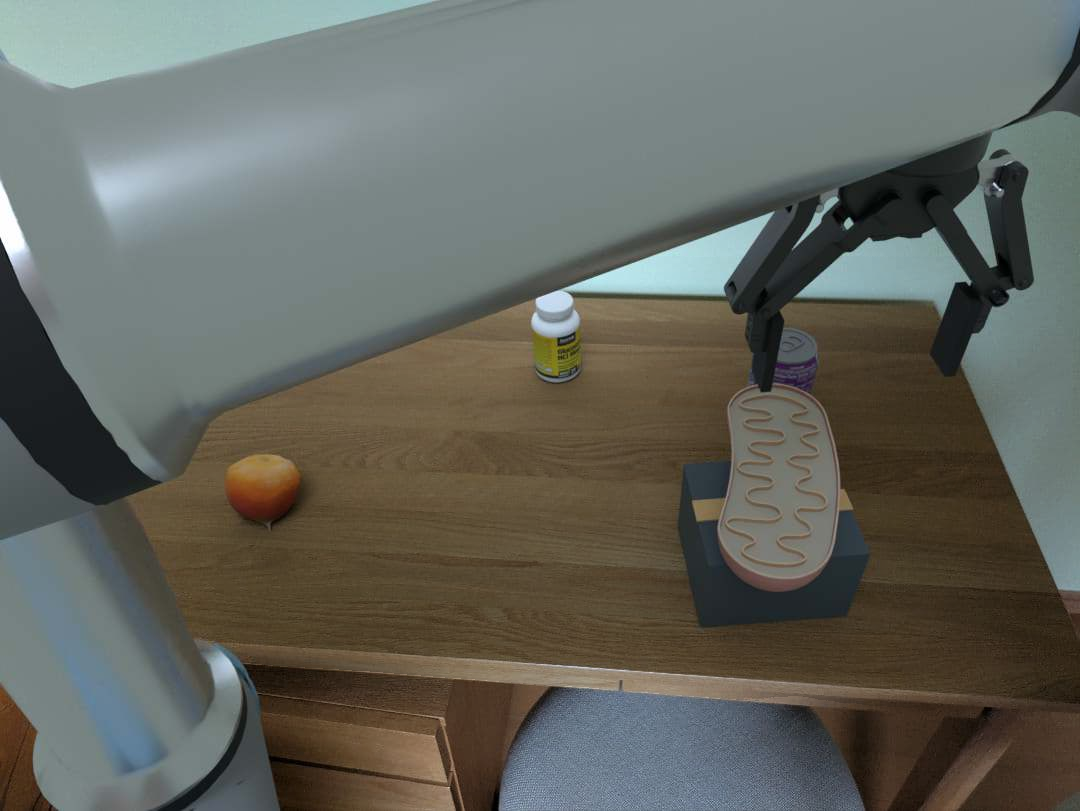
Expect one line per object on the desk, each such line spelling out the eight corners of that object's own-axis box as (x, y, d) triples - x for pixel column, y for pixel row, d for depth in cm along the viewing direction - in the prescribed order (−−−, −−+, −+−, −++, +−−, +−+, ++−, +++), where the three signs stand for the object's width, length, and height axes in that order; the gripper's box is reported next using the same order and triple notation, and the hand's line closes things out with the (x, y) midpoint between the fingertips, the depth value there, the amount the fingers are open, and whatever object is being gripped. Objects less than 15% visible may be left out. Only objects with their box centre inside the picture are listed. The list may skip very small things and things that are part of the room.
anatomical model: (724, 414, 80) (729, 378, 77) (825, 425, 78) (835, 388, 75) (708, 604, 64) (713, 568, 61) (834, 624, 62) (847, 588, 59)
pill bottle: (563, 390, 100) (559, 321, 92) (525, 373, 103) (518, 305, 95) (590, 364, 103) (589, 296, 96) (553, 348, 106) (549, 281, 99)
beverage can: (768, 394, 97) (782, 316, 89) (815, 424, 93) (835, 345, 84) (729, 421, 94) (741, 343, 86) (777, 453, 90) (794, 374, 81)
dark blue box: (698, 627, 74) (707, 564, 67) (676, 527, 83) (682, 462, 76) (848, 616, 74) (872, 552, 67) (809, 517, 83) (828, 451, 76)
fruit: (207, 530, 85) (207, 460, 83) (253, 507, 92) (254, 442, 90) (271, 545, 82) (273, 474, 81) (313, 520, 90) (315, 454, 88)
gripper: (1112, 44, 46) (993, 328, 61) (696, 79, 46) (676, 354, 61) (1198, 92, 41) (1044, 391, 55) (726, 132, 41) (695, 421, 55)
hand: (851, 373), depth 58 cm, fingers open, 13 cm apart
